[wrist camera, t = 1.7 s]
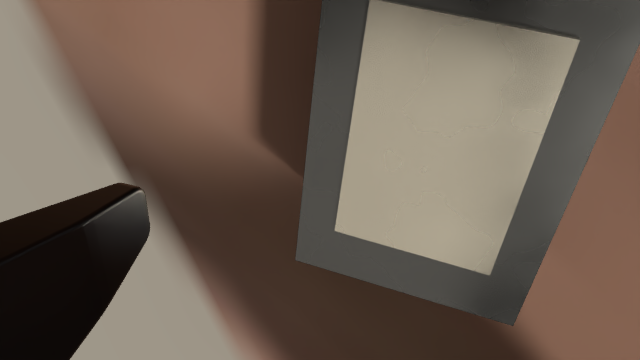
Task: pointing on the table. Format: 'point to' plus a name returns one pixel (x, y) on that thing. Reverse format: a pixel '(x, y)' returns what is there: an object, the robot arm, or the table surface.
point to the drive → (455, 139)
